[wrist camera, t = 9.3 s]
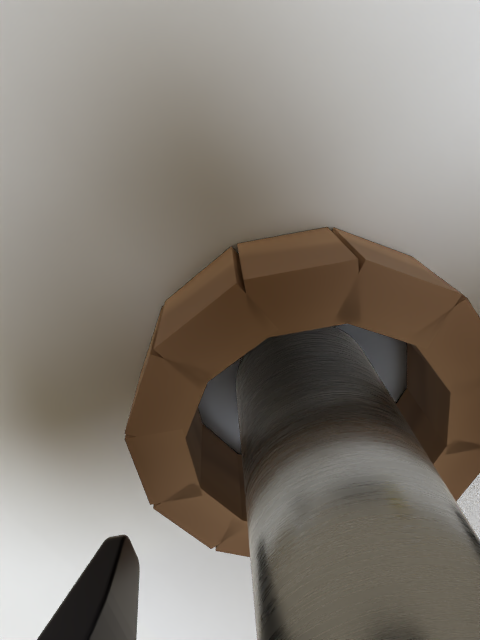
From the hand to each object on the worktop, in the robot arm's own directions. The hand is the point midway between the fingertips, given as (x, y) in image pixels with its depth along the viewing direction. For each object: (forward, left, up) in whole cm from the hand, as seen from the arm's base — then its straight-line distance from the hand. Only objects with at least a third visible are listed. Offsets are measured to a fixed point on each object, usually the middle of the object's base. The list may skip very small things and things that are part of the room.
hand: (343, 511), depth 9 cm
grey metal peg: (0, 0, -4) cm, 5 cm away
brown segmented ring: (0, 0, -4) cm, 4 cm away
